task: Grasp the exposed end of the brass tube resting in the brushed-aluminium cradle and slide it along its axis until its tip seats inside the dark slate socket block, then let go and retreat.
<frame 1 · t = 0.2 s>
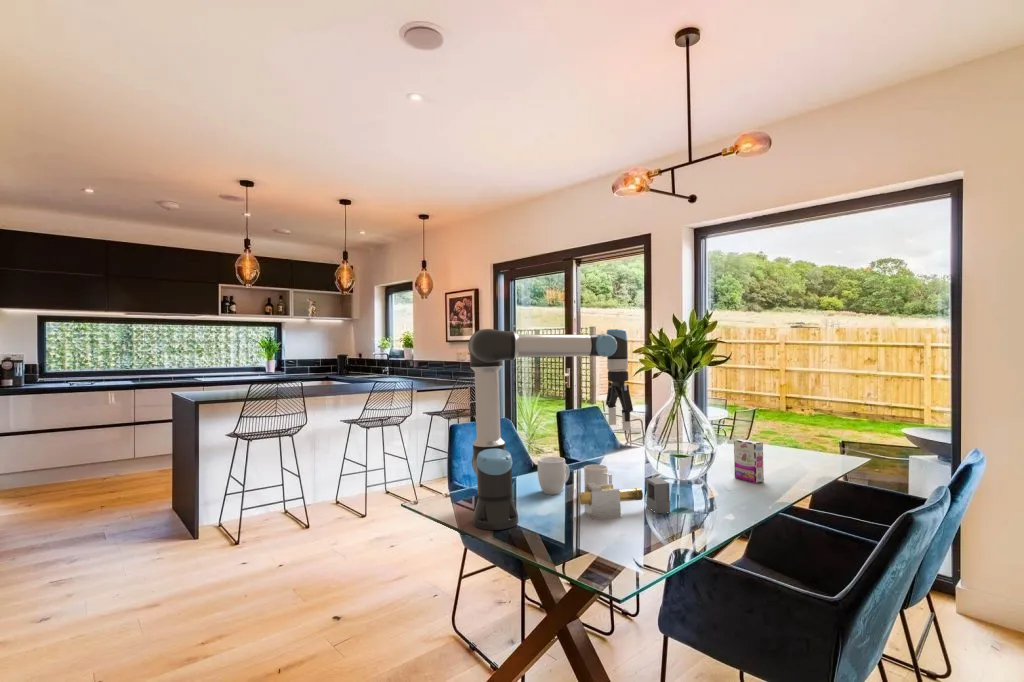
hand: (619, 427, 200), 27 cm above the table, fingers open, 13 cm apart
mug: (554, 492, 214), on the table
socket: (658, 509, 188), on the table
sleeve: (602, 514, 185), on the table
tube: (610, 496, 185), point 6 cm above the table, slide at 0.0 cm
candy bar box: (749, 480, 225), on the table
mug 2: (599, 497, 205), on the table
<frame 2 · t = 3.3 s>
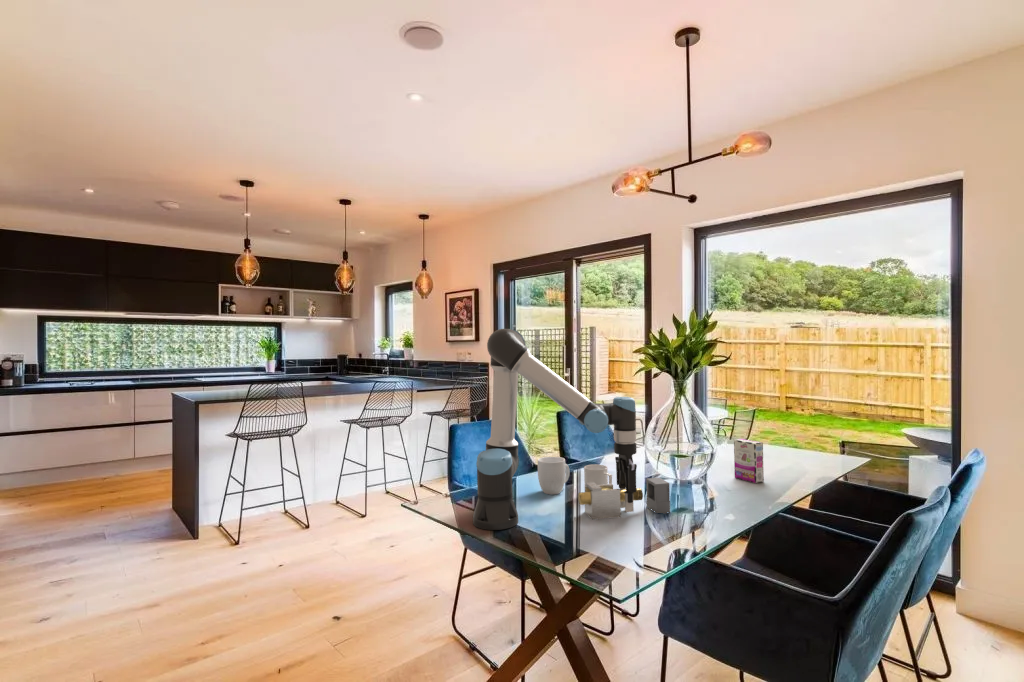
hand: (626, 509, 186), 1 cm above the table, fingers closed on tube, 4 cm apart
tube: (610, 496, 185), point 6 cm above the table, slide at 0.0 cm, touching gripper
everything else where it was.
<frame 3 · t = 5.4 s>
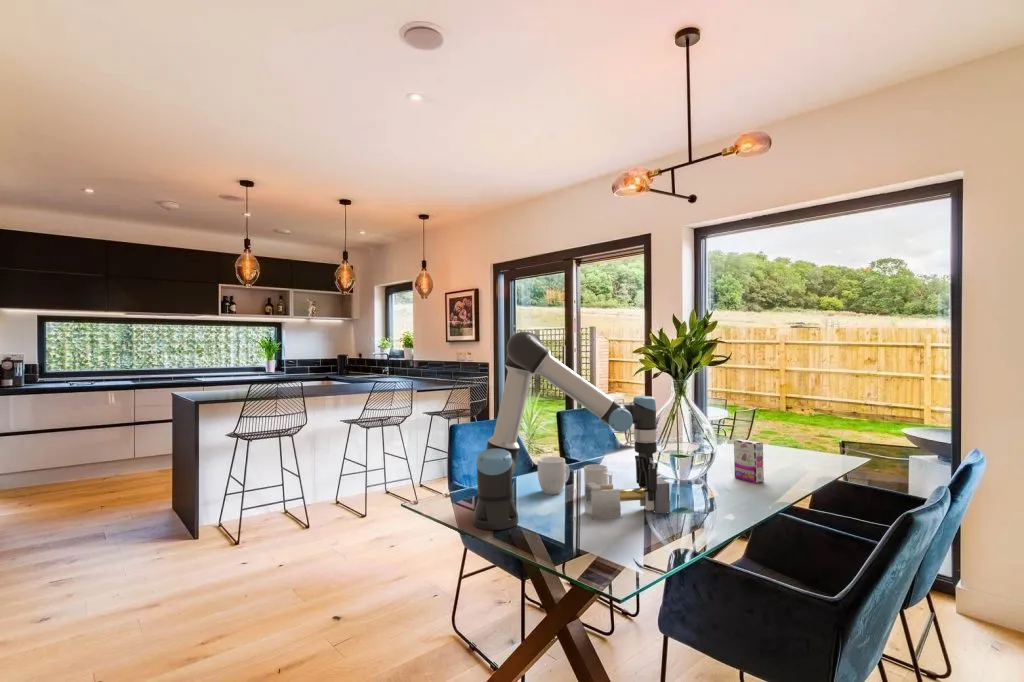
hand: (646, 507, 188), 1 cm above the table, fingers closed on tube, 4 cm apart
tube: (630, 494, 187), point 6 cm above the table, slide at 7.5 cm, touching gripper
everything else where it was.
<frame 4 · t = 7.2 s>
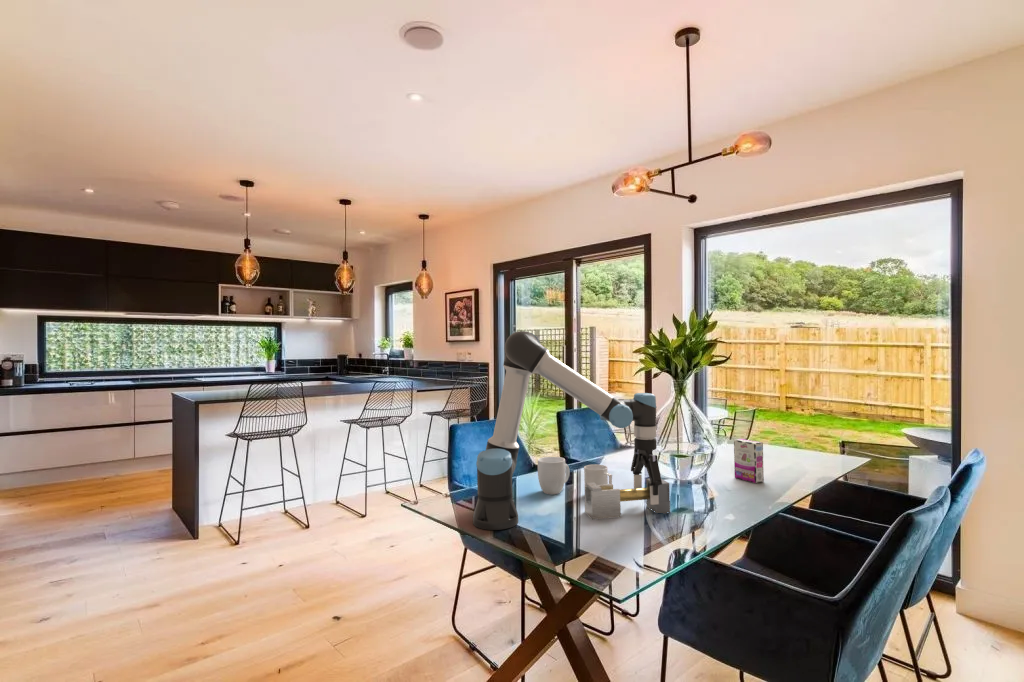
hand: (645, 498, 188), 4 cm above the table, fingers open, 13 cm apart
tube: (630, 494, 187), point 6 cm above the table, slide at 7.5 cm
everything else where it was.
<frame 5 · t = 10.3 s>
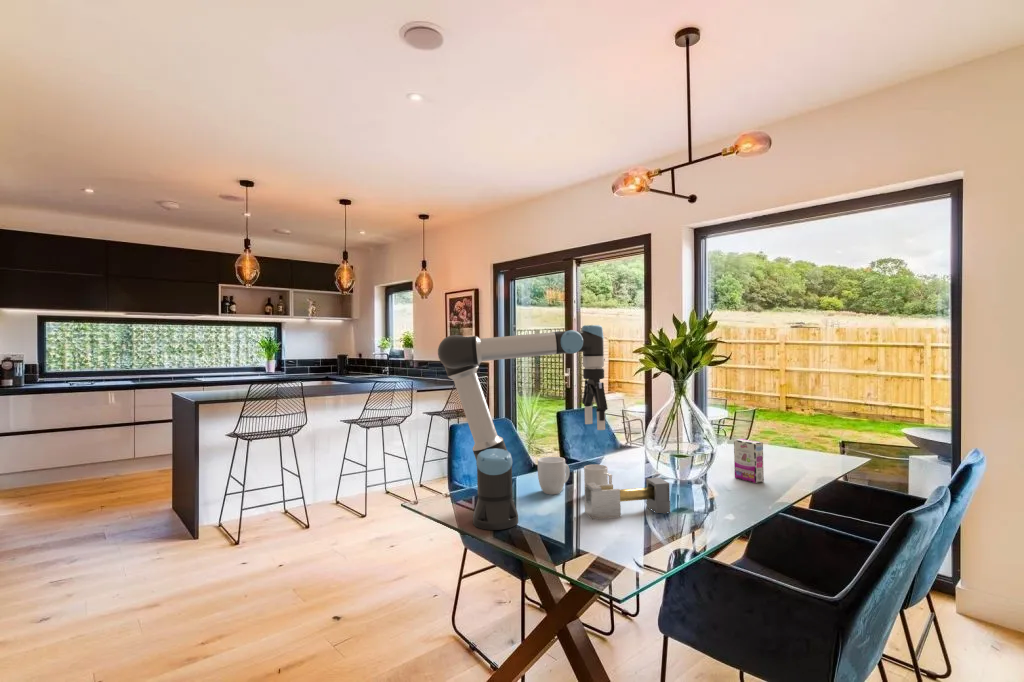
hand: (594, 426, 194), 29 cm above the table, fingers open, 13 cm apart
nothing on the table moved.
at the end: tube slide at 7.5 cm; the gripper is holding nothing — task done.
